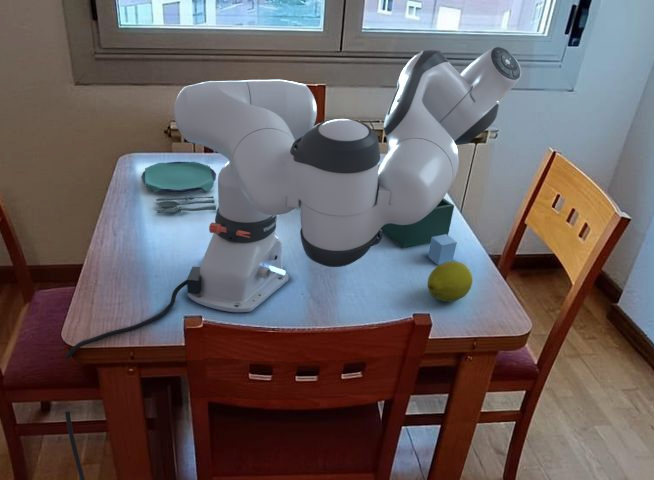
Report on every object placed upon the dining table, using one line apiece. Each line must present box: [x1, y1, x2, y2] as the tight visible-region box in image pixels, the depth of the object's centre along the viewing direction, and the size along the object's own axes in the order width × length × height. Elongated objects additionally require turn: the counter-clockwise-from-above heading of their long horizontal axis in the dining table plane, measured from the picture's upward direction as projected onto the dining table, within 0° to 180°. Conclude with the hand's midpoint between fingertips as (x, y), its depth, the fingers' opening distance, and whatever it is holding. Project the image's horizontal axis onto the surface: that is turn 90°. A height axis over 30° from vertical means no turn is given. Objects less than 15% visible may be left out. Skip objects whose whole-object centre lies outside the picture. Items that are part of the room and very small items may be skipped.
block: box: [427, 234, 458, 266], centre depth 137 cm, size 4×4×5 cm
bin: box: [380, 197, 455, 249], centre depth 149 cm, size 19×13×9 cm
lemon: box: [427, 260, 473, 303], centre depth 123 cm, size 11×8×8 cm
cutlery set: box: [140, 161, 217, 214], centre depth 162 cm, size 20×30×2 cm, turn 11°
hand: (422, 139), depth 137 cm, fingers closed on bin lid, 5 cm apart
